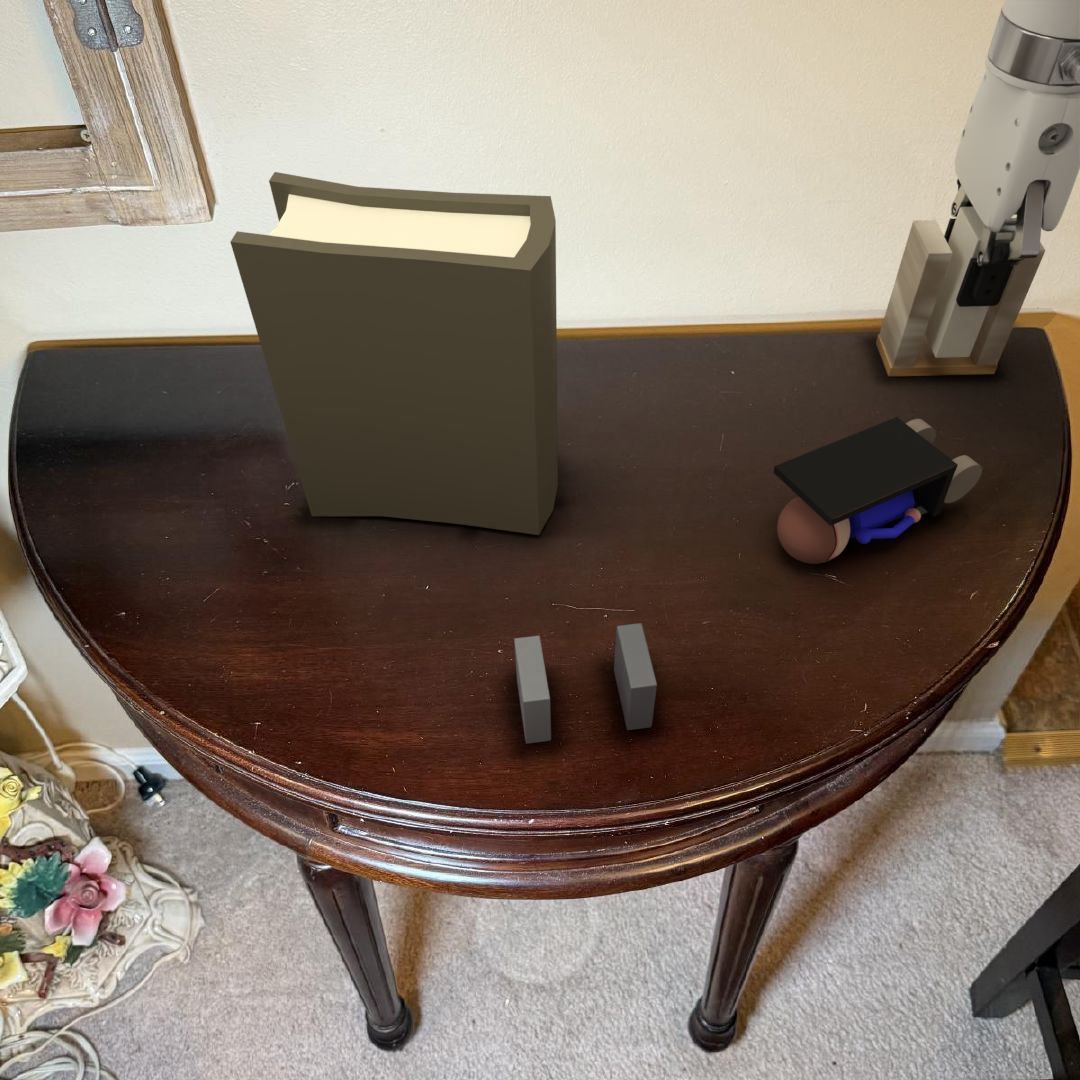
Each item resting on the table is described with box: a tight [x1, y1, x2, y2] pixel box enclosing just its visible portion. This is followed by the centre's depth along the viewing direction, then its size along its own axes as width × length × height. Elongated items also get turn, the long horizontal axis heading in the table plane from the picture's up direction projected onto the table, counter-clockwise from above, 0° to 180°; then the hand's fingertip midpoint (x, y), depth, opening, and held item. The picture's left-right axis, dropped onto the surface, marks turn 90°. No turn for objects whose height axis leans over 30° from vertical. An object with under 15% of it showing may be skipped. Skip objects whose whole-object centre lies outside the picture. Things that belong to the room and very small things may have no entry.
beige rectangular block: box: [925, 207, 1012, 358], centre depth 77 cm, size 3×5×11 cm, turn 1°
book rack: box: [875, 217, 1046, 378], centre depth 80 cm, size 9×5×12 cm, turn 91°
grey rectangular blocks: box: [513, 622, 658, 744], centre depth 61 cm, size 8×5×5 cm, turn 98°
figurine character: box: [773, 416, 983, 565], centre depth 70 cm, size 7×8×15 cm
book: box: [229, 171, 559, 536], centre depth 66 cm, size 18×8×24 cm, turn 81°
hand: (966, 281), depth 77 cm, fingers closed on beige rectangular block, 4 cm apart
